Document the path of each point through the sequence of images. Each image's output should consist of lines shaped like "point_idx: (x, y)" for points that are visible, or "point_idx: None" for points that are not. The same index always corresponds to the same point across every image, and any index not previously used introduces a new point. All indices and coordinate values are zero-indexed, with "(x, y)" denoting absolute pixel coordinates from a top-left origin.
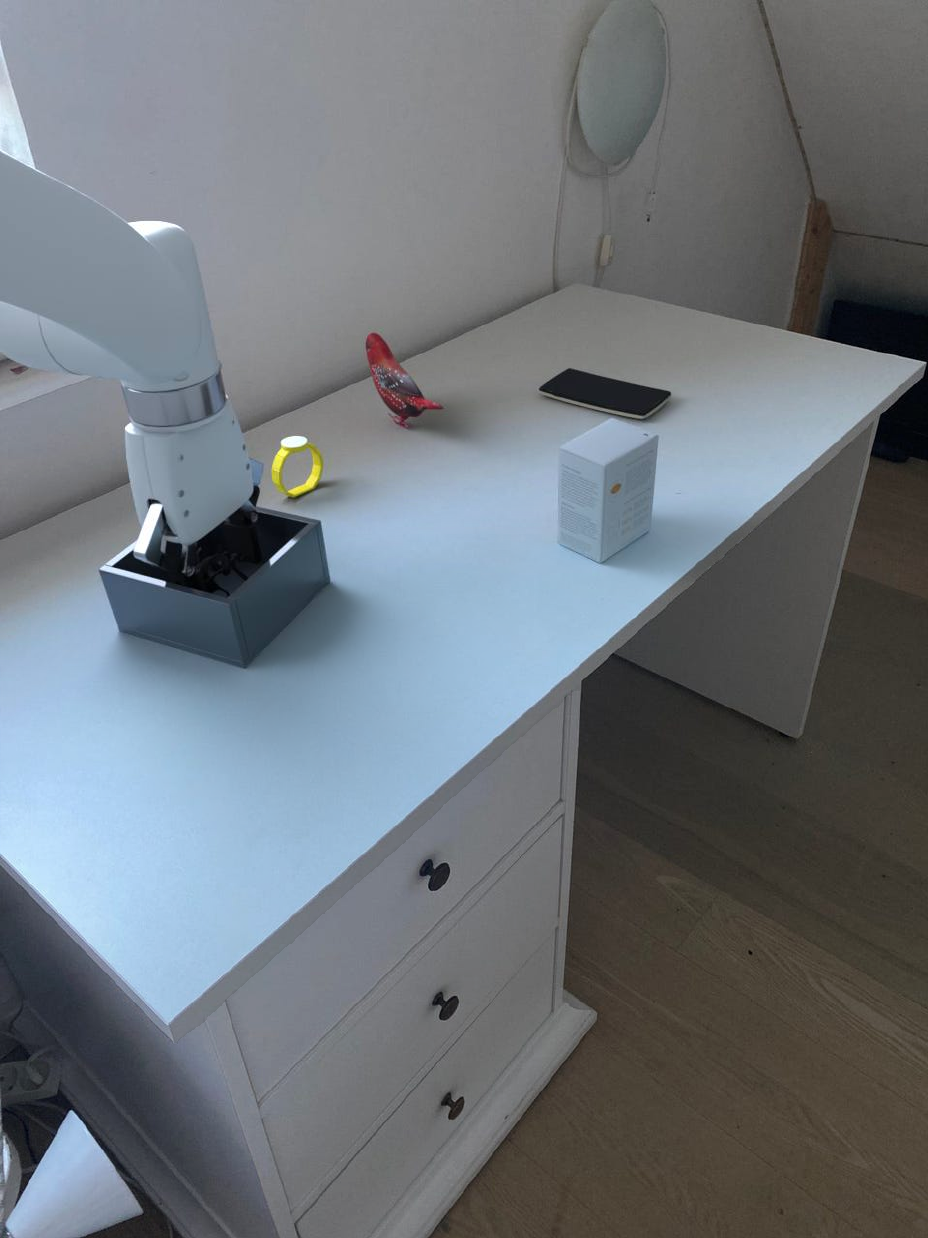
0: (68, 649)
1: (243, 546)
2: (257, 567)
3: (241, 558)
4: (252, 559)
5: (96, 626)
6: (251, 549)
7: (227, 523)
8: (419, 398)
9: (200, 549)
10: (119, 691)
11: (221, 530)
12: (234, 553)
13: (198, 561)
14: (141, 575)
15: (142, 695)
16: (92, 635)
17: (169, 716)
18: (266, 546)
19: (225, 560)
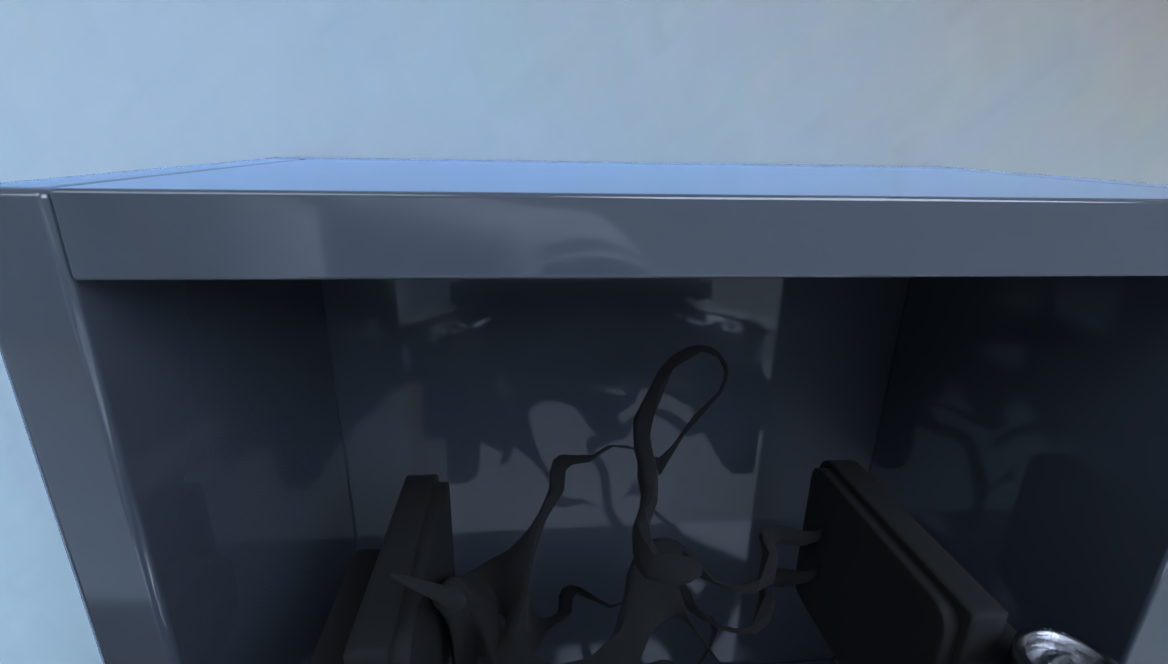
0: (29, 7)
1: (844, 603)
2: (849, 451)
3: (780, 583)
4: (804, 588)
5: (242, 14)
6: (832, 639)
7: (949, 641)
8: None
9: (680, 580)
10: (7, 429)
11: (1013, 331)
12: (824, 509)
13: (637, 522)
14: (142, 590)
15: (52, 512)
16: (180, 49)
17: (44, 643)
18: None
19: (871, 303)
